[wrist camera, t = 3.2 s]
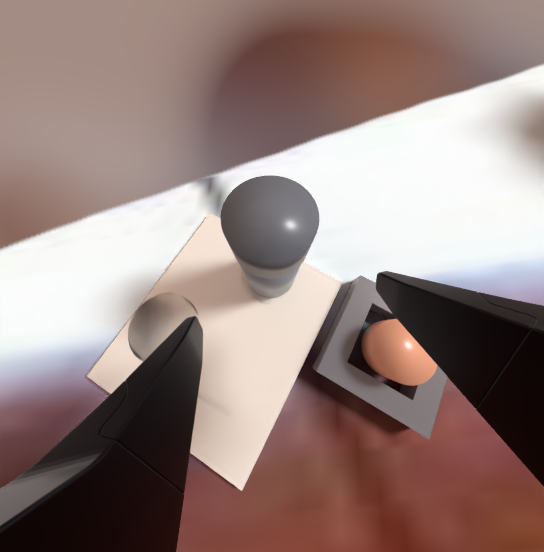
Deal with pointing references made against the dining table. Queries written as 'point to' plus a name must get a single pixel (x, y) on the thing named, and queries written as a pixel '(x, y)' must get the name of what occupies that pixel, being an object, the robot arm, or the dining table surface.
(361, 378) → the button housing
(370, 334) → the button
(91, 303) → the dining table surface
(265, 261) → the grey rounded cylinder
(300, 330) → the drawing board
